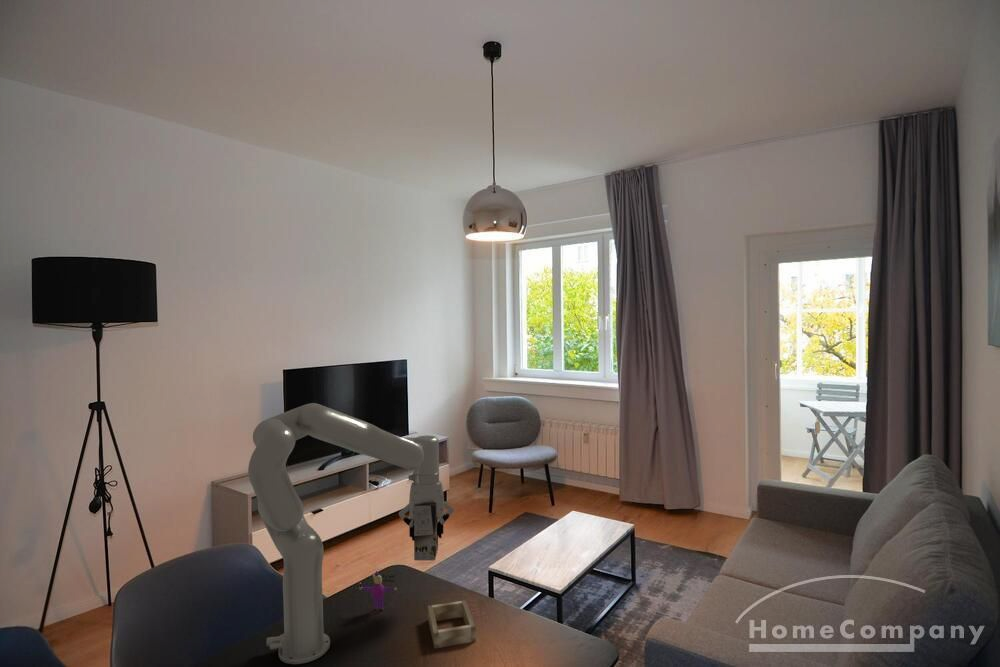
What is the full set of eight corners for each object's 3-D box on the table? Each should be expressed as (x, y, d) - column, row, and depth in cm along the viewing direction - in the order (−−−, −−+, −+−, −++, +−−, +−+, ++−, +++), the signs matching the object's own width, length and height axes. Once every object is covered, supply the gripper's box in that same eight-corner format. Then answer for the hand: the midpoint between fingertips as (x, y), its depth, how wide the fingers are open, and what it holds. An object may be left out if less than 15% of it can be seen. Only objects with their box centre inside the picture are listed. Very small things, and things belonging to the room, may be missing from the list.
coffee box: (435, 560, 155) (435, 505, 155) (413, 561, 155) (413, 505, 155) (439, 548, 164) (438, 495, 164) (417, 548, 164) (417, 495, 164)
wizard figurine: (398, 608, 159) (397, 568, 158) (395, 614, 155) (394, 573, 155) (361, 607, 159) (360, 567, 159) (357, 613, 156) (356, 572, 156)
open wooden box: (434, 648, 138) (434, 633, 138) (428, 619, 152) (427, 605, 152) (475, 641, 141) (475, 626, 141) (466, 613, 155) (465, 600, 155)
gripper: (397, 483, 154) (397, 545, 154) (457, 479, 158) (457, 539, 158) (395, 476, 161) (396, 535, 161) (453, 473, 165) (453, 530, 165)
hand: (426, 537), depth 159 cm, fingers closed on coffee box, 7 cm apart
